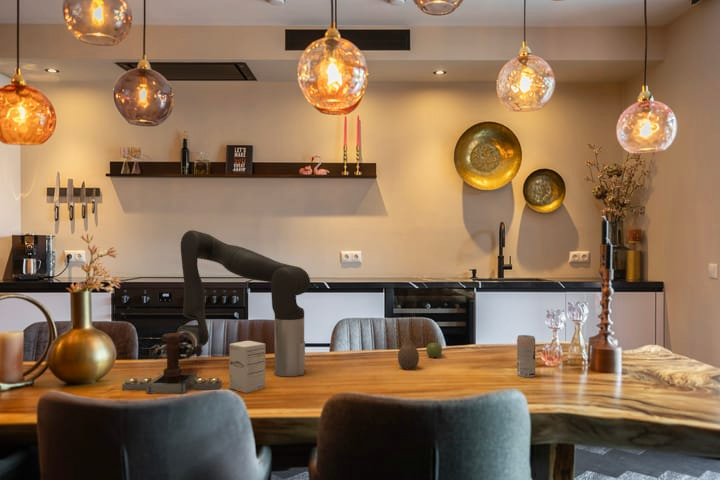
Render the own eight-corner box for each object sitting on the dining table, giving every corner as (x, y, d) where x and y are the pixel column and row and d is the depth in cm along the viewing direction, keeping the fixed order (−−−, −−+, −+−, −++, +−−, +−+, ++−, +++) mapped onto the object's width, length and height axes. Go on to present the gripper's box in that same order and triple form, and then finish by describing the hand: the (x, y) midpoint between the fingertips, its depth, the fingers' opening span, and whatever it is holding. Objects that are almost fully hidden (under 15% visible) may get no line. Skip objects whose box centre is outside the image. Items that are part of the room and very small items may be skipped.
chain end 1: (195, 382, 155) (195, 373, 155) (183, 393, 143) (183, 383, 143) (133, 383, 154) (133, 374, 154) (116, 394, 143) (116, 384, 143)
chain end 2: (224, 382, 155) (224, 373, 155) (215, 393, 144) (215, 383, 144) (163, 382, 154) (163, 373, 154) (148, 393, 143) (148, 384, 143)
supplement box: (228, 388, 148) (228, 343, 148) (249, 383, 154) (249, 339, 154) (244, 393, 143) (244, 346, 143) (266, 388, 149) (266, 342, 149)
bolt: (175, 391, 146) (175, 336, 146) (158, 390, 147) (158, 336, 147) (186, 385, 151) (186, 332, 151) (170, 384, 152) (170, 332, 152)
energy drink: (536, 374, 164) (536, 335, 164) (534, 378, 159) (534, 338, 159) (518, 372, 166) (518, 334, 166) (515, 376, 161) (515, 337, 162)
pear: (425, 342, 188) (427, 342, 198) (425, 357, 187) (427, 356, 197) (441, 343, 187) (443, 342, 197) (441, 358, 186) (443, 357, 196)
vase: (394, 369, 171) (394, 342, 171) (401, 365, 177) (401, 338, 177) (415, 371, 168) (415, 343, 168) (421, 366, 175) (421, 340, 175)
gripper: (159, 332, 162) (144, 342, 146) (206, 331, 164) (198, 341, 148) (158, 357, 162) (144, 369, 146) (206, 356, 164) (198, 368, 148)
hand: (171, 355), depth 147 cm, fingers open, 8 cm apart
